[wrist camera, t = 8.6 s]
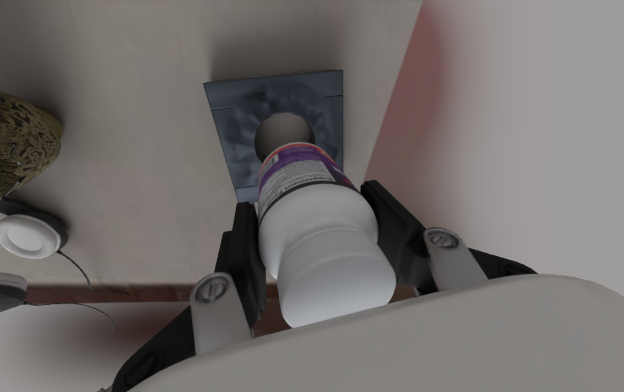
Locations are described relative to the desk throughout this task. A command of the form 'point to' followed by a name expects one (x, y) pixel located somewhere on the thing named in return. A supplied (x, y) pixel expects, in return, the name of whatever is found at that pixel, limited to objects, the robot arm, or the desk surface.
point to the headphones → (28, 246)
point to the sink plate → (266, 102)
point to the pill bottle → (318, 238)
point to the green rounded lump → (25, 142)
